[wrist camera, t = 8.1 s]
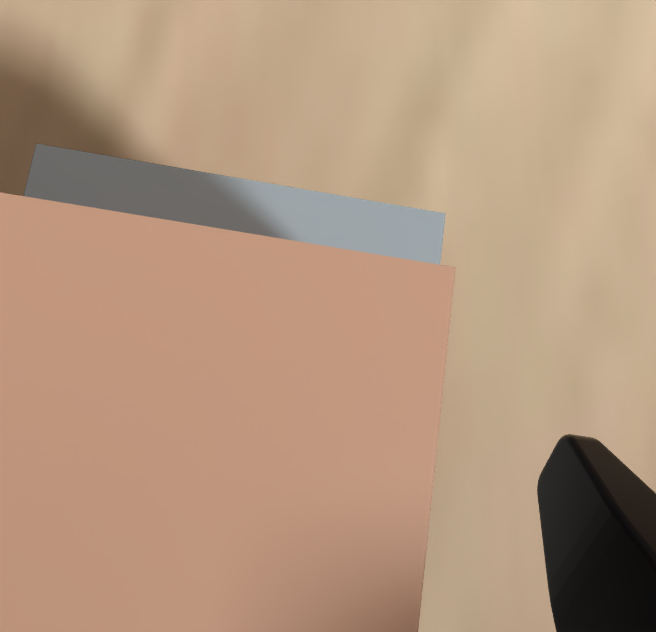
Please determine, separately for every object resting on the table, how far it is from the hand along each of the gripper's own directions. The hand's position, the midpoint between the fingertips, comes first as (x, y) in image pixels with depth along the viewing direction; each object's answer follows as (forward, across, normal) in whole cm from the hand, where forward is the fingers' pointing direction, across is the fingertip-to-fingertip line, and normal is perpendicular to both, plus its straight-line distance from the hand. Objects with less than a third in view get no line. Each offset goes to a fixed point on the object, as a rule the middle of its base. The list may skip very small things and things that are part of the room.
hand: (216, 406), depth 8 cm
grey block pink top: (+5, 0, +7) cm, 8 cm away
